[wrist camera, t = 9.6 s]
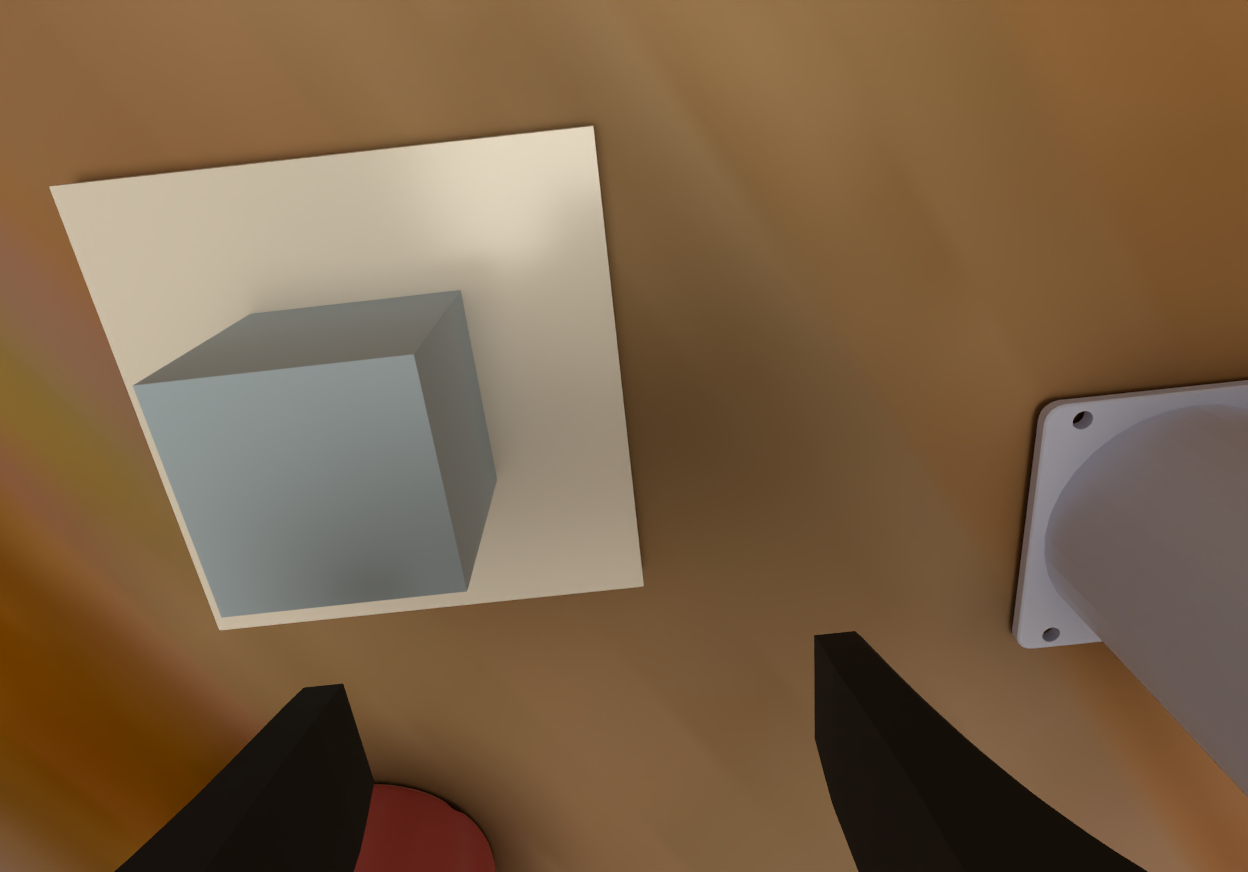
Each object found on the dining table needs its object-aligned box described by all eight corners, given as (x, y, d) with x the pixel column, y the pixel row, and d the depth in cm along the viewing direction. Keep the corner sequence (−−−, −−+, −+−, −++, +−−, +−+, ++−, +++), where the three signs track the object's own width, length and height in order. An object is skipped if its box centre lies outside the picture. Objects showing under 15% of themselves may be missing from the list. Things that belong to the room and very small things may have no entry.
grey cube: (460, 290, 18) (413, 354, 14) (497, 479, 20) (467, 591, 16) (250, 314, 18) (132, 385, 14) (307, 500, 20) (221, 617, 16)
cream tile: (593, 124, 18) (593, 125, 17) (641, 566, 22) (643, 586, 22) (77, 182, 18) (49, 186, 17) (234, 608, 23) (219, 630, 22)
